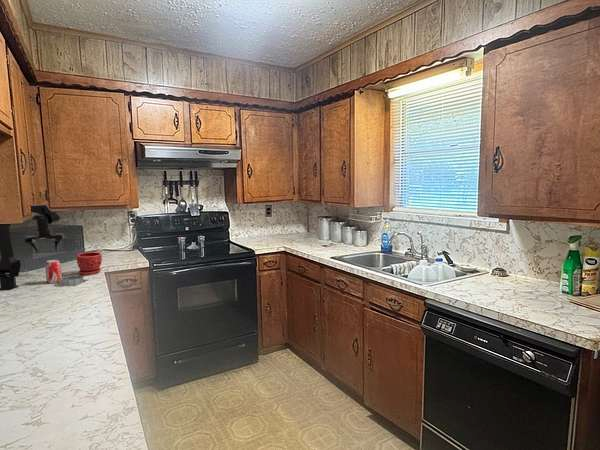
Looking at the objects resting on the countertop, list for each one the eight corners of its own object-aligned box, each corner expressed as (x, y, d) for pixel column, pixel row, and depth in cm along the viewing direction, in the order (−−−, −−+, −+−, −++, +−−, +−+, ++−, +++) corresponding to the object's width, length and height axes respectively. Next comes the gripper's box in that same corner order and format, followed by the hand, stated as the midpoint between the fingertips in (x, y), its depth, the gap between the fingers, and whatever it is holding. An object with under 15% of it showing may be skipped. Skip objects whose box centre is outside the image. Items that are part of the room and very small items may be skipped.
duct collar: (76, 286, 195) (75, 280, 195) (55, 286, 195) (54, 280, 195) (87, 280, 206) (87, 275, 206) (68, 280, 206) (67, 275, 206)
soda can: (44, 282, 201) (42, 261, 200) (57, 279, 207) (55, 259, 206) (51, 284, 198) (49, 262, 197) (64, 281, 204) (63, 260, 203)
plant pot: (72, 275, 216) (71, 256, 215) (87, 270, 229) (85, 251, 228) (94, 276, 215) (92, 256, 214) (107, 270, 228) (106, 252, 227)
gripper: (64, 221, 223) (68, 246, 226) (27, 224, 216) (32, 249, 220) (60, 225, 213) (64, 251, 216) (21, 228, 206) (26, 255, 210)
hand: (47, 251), depth 216 cm, fingers open, 9 cm apart
